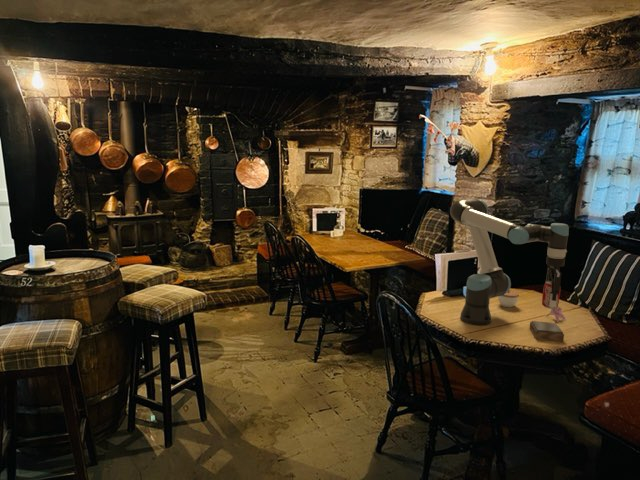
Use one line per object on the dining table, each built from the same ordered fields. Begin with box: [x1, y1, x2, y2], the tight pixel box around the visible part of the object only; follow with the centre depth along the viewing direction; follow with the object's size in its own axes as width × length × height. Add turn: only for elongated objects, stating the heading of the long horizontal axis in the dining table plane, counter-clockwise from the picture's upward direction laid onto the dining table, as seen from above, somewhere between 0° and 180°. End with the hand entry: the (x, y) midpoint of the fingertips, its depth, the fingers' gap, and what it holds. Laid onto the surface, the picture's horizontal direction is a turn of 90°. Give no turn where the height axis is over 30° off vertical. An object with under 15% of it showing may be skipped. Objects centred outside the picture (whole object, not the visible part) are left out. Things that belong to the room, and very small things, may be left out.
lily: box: [545, 306, 566, 323], centre depth 229 cm, size 12×12×10 cm
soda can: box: [541, 280, 561, 310], centre depth 205 cm, size 7×7×12 cm
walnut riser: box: [528, 320, 565, 342], centre depth 209 cm, size 12×12×4 cm
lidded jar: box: [497, 289, 520, 308], centre depth 247 cm, size 11×11×9 cm
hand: (550, 303), depth 206 cm, fingers closed on soda can, 7 cm apart
